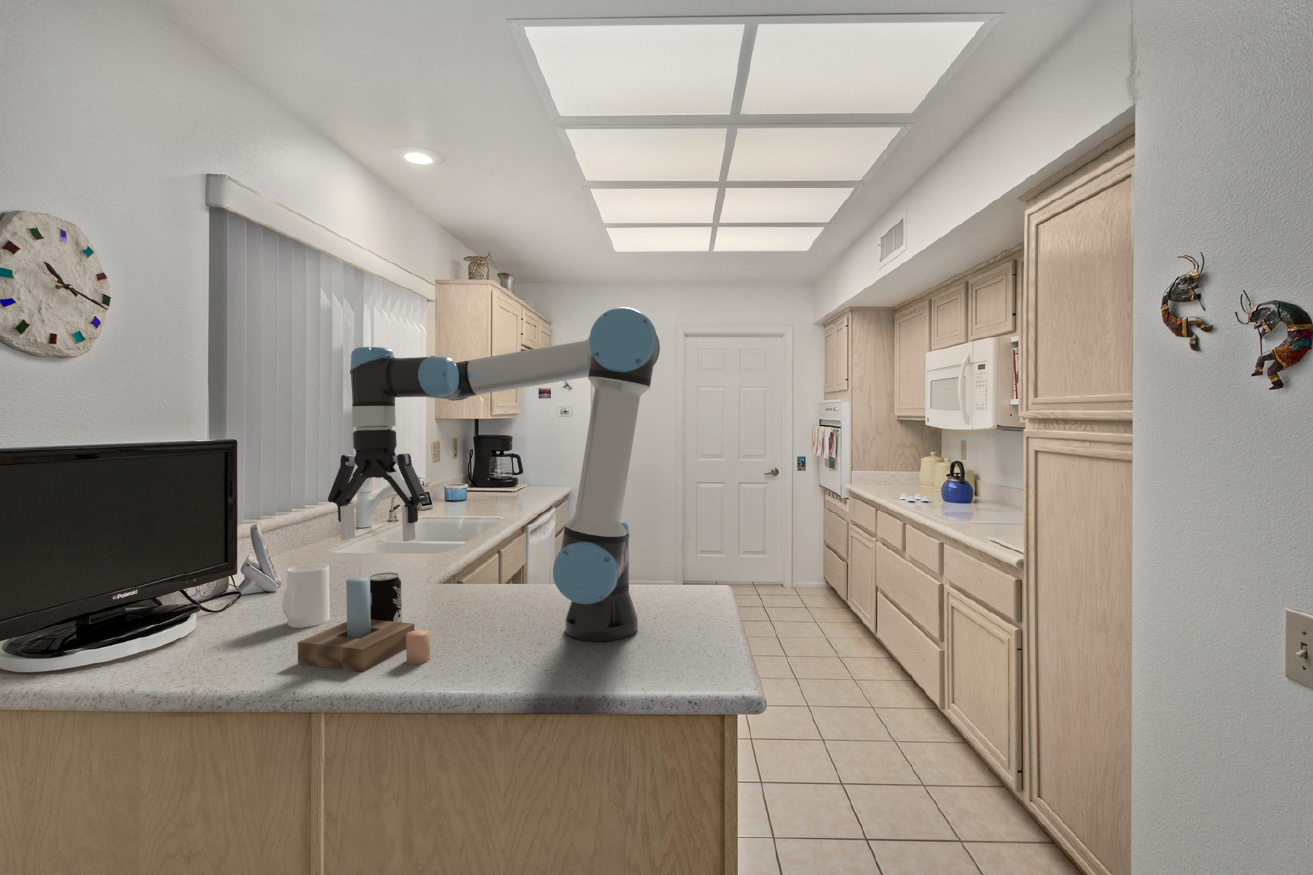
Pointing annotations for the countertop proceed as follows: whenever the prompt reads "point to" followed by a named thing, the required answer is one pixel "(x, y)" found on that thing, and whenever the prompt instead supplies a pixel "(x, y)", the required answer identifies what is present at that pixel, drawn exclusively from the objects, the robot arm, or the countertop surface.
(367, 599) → the long dowel
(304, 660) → the hole block
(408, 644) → the short dowel
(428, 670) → the countertop surface
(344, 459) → the robot arm
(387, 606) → the beverage can
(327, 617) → the mug
